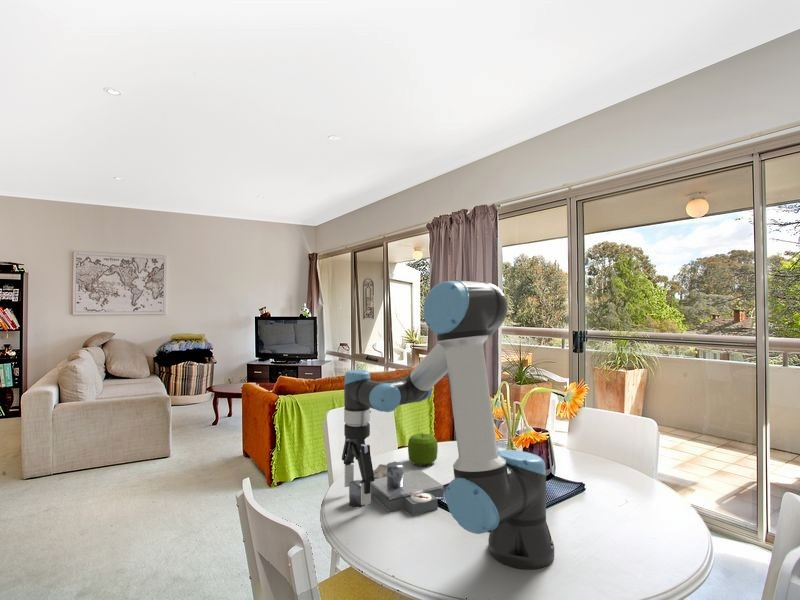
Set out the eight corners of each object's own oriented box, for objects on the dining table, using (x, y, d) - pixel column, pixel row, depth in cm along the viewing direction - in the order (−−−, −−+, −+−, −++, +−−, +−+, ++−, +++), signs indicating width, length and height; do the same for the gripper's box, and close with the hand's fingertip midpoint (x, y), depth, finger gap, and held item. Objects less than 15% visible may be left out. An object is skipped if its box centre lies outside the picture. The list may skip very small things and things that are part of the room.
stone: (385, 490, 145) (385, 477, 145) (360, 484, 150) (360, 472, 150) (407, 474, 158) (406, 462, 158) (383, 469, 163) (382, 458, 163)
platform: (443, 487, 137) (443, 485, 137) (389, 500, 129) (389, 497, 129) (420, 472, 150) (420, 470, 150) (369, 482, 142) (369, 480, 142)
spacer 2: (406, 485, 137) (406, 466, 137) (391, 489, 135) (391, 469, 135) (398, 480, 141) (398, 460, 141) (384, 483, 139) (383, 464, 139)
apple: (435, 469, 162) (434, 438, 162) (405, 466, 165) (405, 436, 165) (439, 458, 173) (439, 429, 173) (411, 456, 175) (411, 428, 175)
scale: (453, 506, 133) (453, 493, 133) (397, 519, 124) (397, 506, 124) (420, 482, 150) (420, 471, 150) (369, 493, 142) (369, 481, 142)
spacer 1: (368, 505, 134) (368, 484, 134) (352, 509, 131) (352, 488, 131) (362, 498, 138) (362, 479, 138) (346, 502, 136) (346, 482, 136)
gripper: (386, 432, 125) (386, 509, 126) (353, 412, 148) (353, 477, 148) (361, 436, 122) (361, 515, 122) (331, 414, 144) (331, 481, 144)
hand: (357, 494), depth 135 cm, fingers open, 13 cm apart
